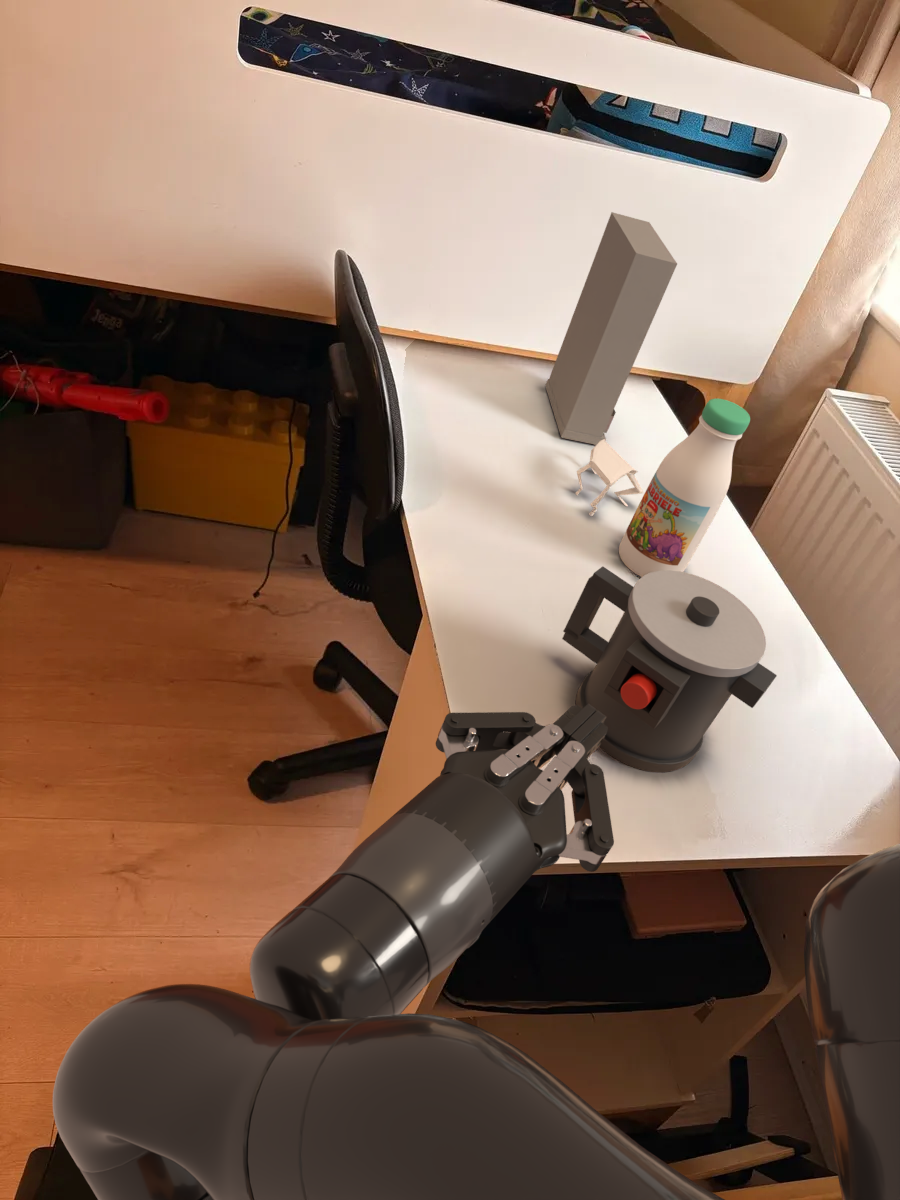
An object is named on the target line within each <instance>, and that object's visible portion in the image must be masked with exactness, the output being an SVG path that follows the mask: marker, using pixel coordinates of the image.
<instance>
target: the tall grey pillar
mask: <svg viewBox="0 0 900 1200" xmlns="http://www.w3.org/2000/svg"><path fill="white" fill-rule="evenodd" d="M591 263H592V264H591V266H590V269H589V271H588V274H587V276H586V279H585V282H584V285H583V287H582V291H581V292H580V294H579V298H578V300H577V303H576V306H575V309H574V312H573V314H572V316H571V320H570V322H569V324H568V328H567V330H566V332H565V335H564V338H563V341H562V342H561V343H562V344H561V345H560V348H559V352H558V354H557V357H556V360H555V362H554V364H553V367H552V371H551V373H550V375H549V378H547V381H546V382H545V383H546V384H545V385H544V387H545V390H546V393H547V396H548V399H549V403H550V406H551V408H552V412H553V416H554V418H555V422H556V425H557V429H558V431H559V434H560V438H562V439H566V440H572V441H576V442H581V443H586V444H591V445H594V446H596V444H597V443H598V442H599V441H601V440H603V439H605V441H606V440H607V438H606V435H605V434H607V433H608V431H609V429H610V426H611V424H612V422H613V419H614V418H615V416H616V413H617V412H616V410H615V407H616V405H617V403H618V401H619V398H620V396H621V394H622V392H623V390H624V387H625V384H626V382H627V380H628V379H629V375H630V373H631V371H632V368H633V366H634V364H635V361H636V359H637V357H638V355H639V352H640V350H641V348H642V346H643V344H644V341H645V339H646V336H647V334H648V332H649V330H650V328H651V325H652V323H653V321H654V319H655V316H656V314H657V311H658V309H659V307H660V305H661V303H662V300H663V298H664V296H665V293H666V291H667V289H668V286H669V284H670V282H671V279H672V277H673V276H674V272H675V270H676V268H677V265H678V262H677V260H676V259H675V258H674V256H673V255H672V253H671V252H670V251H669V249H668V248H667V246H666V245H665V243H664V241H663V240H662V239H661V237H660V236H659V234H658V233H657V231H656V230H655V228H654V227H653V225H652V224H651V222H650V221H646V220H643V219H639V218H635V217H631V216H629V215H625V214H621V213H616V212H613V211H611V213H610V214H609V217H608V220H607V223H606V226H605V229H604V231H603V233H602V237H601V239H600V242H599V245H598V248H597V250H596V252H595V255H594V258H593V261H592V262H591Z"/></svg>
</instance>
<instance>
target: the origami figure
mask: <svg viewBox="0 0 900 1200" xmlns="http://www.w3.org/2000/svg"><path fill="white" fill-rule="evenodd" d="M588 469H591V470H592V472H593V473H594V474H595V475H597V476H599V478H600V479H601V480H602V482H603V483H604V485H606V487H605V488H604V489H603V490H602V491H601V492H600V494H599V495H598V496H597V497H596V498H595V499H594V500H592V502H590V504H589V505H590V507H592V508H593V509H592V510H591V511H589V513H588V515H589V516H590V517H593V516H594V515H595V513H596V512H597V511H598V506H597V505H598V504H599V503H600V502H601V501H602V500H603V499H604V497H605V496H606V494H607V493H608V492H609V490H610V489H611V487H613V486H614V485H615V484H616V483H617V482H618V481H619V480H620V479H622V478H623V477H625V476H626V477H627V478H628V479H629V481H630V482H631V485H632V486H633V487H631V488H627V489H622V490H618V491H614V494H615V496H616V497H617V498H618V500H619V501H620V502H621V503H622V504H623V505H624V506H625V507H629V505H628V504H627V503H626V501H625V500H624V499H623V497H621V496H628V495H640V494H644V491H643V489H642V487H641V486H640V484H639V481H638V480H637V477H636V476H635V474H637V473H638V472H639V471H638V470H637V469H636V468H634V467H633V466H631V464H630V463H628V462H627V461H626V459H624V458H623V457H622V456H621V455H620V454H619V453H618V452H617V451H616V450H615V449H614V448H613V447H612V446H611V445H610V444H609V443H608V442H607V441H606V440H605V439H603V440H601V441H599V442H598V443H597V444H596V445H594V446H593V447H592V449H591V451H590V456H589V462H588V463H587V464H586V465H585V466H583V467H581V468H579V469H578V470H576V475H577V480H578V484H579V488H578V489H577V491H576V492H575V495H576V496H579V494H580V493H581V492H582V490H583V489H584V488H583V482H582V473H584V472H585V471H586V470H588Z"/></svg>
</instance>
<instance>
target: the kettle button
mask: <svg viewBox="0 0 900 1200" xmlns="http://www.w3.org/2000/svg"><path fill="white" fill-rule="evenodd" d="M656 693H657V688H656V685H655V683H654V681H653V680H652V679H651V678H649V677H648V676H647V675H644V674H635V675H633V676H632V677H631V678H630V679H629V680H628V681H627V682H626V683H625V684H624V685H623V686H622V687H621V697H622V699H623V701H624V702H625V703H626V704H627V705H628V706H629V707H631V708H634V709H643V708H645V707H646V706H647V705H648V704H649V703H650V702H651V701H652V700H653V699H654V698H655V696H656Z"/></svg>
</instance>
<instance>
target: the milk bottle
mask: <svg viewBox="0 0 900 1200" xmlns="http://www.w3.org/2000/svg"><path fill="white" fill-rule="evenodd" d="M698 421H699V423H698V424H697V426H696V427H695V429H694V430H693V431H692V432H691V433H690V434H688V436H686V438H684V440H682V441H681V442H679V443H678V444H676V445H675V446H674V447H673V448H672V449H671V450H670V451H669V452H668V453H667V454H666V455H665V456H664V458H663V459H662V460H661V463H660V464H659V465H658V467H657V469H656V471H655V472H654V474H653V476H652V478H651V480H650V482H649V484H648V486H647V488H646V490H645V492H644V493H643V496H642V498H641V499H640V502H639V504H638V506H637V508H636V509H635V512H634V514H633V516H632V518H631V520H630V521H629V524H628V526H627V527H626V530H625V532H624V534H623V536H622V538H621V540H620V543H619V545H618V553H619V558H620V560H621V561H622V563H623V564H624V565H625V566H626V567H627V569H629V570H630V571H631V572H633V573H634V574H636V575H638V576H639V577H640V578H641V577H643V576H644V575H646V574H649V573H651V572H655V571H663V570H671V571H680V572H685V570H686V568H687V567H688V565H689V563H690V562H691V560H692V558H693V556H694V555H695V553H696V551H697V550H698V547H699V546H700V544H701V542H702V541H703V539H704V537H705V535H706V533H707V532H708V529H710V526H711V525H712V524H713V523H712V522H713V521H714V519H715V517H716V515H717V513H718V512H719V510H720V508H721V506H722V504H723V502H724V500H725V499H726V496H727V493H728V490H729V488H730V485H731V479H732V472H733V471H732V469H733V455H734V450H735V448H736V447H735V446H736V444H737V441H738V440H740V439H742V438H743V435H744V433H745V432H746V430H747V429H748V427H749V425H750V422H751V415H750V414H749V413H748V411H747V410H746V409H745V408H743V407H742V406H740V405H739V404H737V403H735V402H732V401H730V400H727V399H723V398H711V399H709V400H708V401H707V402H706V404H705V406H704V408H703V409H702V412H701V415H700V416H699V417H698Z"/></svg>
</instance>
